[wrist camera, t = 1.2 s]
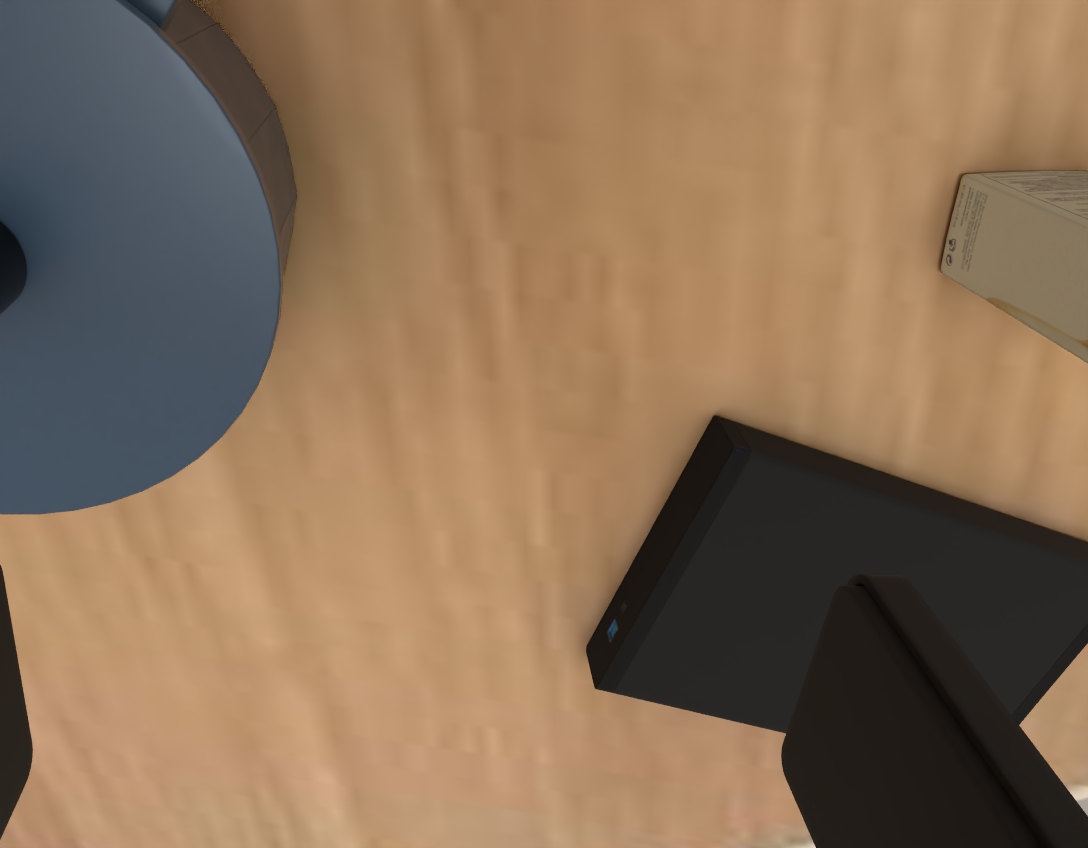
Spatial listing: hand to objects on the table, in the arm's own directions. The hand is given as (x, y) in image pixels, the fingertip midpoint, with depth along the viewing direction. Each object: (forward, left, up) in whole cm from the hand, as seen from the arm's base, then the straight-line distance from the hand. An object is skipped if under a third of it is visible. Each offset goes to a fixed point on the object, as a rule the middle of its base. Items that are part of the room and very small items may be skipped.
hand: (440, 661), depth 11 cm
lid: (-6, -11, -19) cm, 22 cm away
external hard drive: (+30, +5, -27) cm, 41 cm away
